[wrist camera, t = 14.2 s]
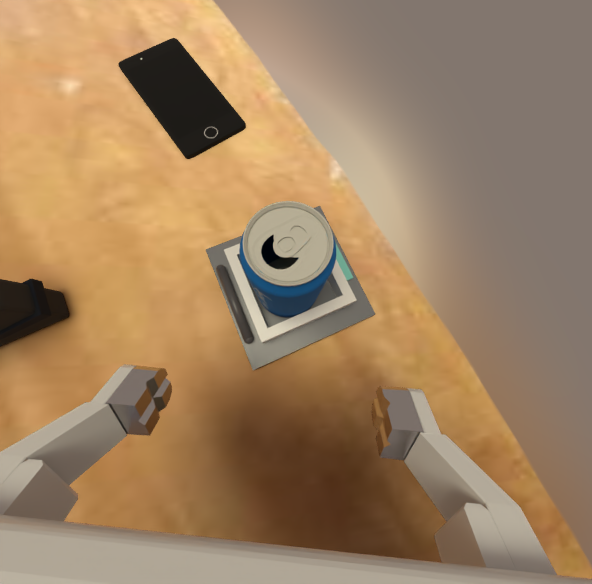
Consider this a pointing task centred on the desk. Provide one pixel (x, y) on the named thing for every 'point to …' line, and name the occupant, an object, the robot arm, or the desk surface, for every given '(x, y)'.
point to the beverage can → (287, 256)
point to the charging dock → (287, 330)
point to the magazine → (28, 308)
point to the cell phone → (182, 97)
